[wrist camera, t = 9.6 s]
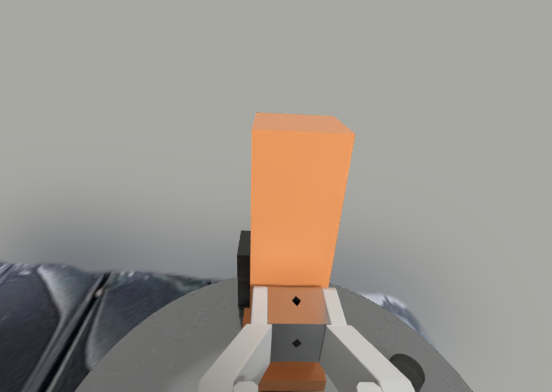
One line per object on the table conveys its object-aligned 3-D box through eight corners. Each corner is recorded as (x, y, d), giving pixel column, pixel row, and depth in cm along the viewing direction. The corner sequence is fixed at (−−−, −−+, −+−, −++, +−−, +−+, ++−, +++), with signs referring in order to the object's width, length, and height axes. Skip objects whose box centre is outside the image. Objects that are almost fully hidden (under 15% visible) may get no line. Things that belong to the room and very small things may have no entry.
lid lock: (324, 391, 13) (378, 139, 8) (237, 390, 12) (232, 132, 7) (312, 318, 16) (342, 114, 11) (244, 317, 16) (244, 109, 11)
